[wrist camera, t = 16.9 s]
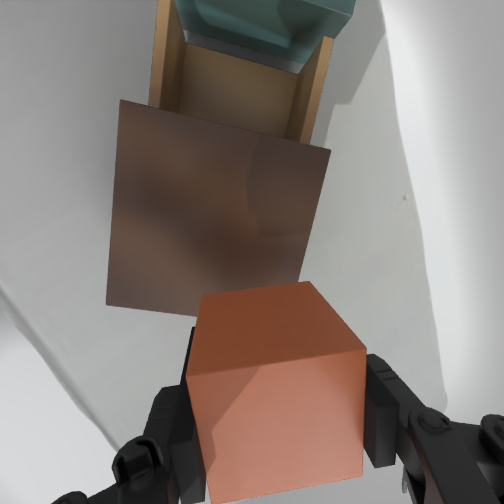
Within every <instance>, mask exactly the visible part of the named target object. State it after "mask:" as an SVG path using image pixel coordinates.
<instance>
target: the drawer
mask: <svg viewBox="0 0 504 504" xmlns="http://www.w3.org/2000/svg"><path fill="white" fill-rule="evenodd" d="M355 2H356V0H158V5H157V15H156V26H155V37H154V47H153V58H152V69H151V79H150V90H149V101H148V106H150V107H155V108H159V109H163V110H167V111H171V112H176V113H180V114H184V115H188V116H192V117H196V118H201V119H205V120H209V121H213V122H217V123H221V124H226V125H230V126H234V127H238V128H242V129H246V130H251V131H255V132H259V133H263V134H267V135H271V136H276V137H280V138H284V139H288V140H292V141H296V142H301V143H305V144H310V139H311V135H312V131H313V127H314V122H315V118H316V114H317V110H318V105H319V101H320V97H321V93H322V88H323V84H324V80H325V76H326V71H327V67H328V63H329V59H330V54H331V50H332V46H333V42H334V39H335V38H336V37H337V35H338V34H339V33H340V31H341V30H342V29H343V27H344V26H345V25H346V23H347V22H348V21H349V19H350V18H351V17H352V14H353V10H354V6H355ZM182 29H184V30H188V31H191V32H195V33H198V34H201V35H205V36H208V37H212V38H215V39H219V40H222V41H226V42H229V43H233V44H236V45H240V46H243V47H247V48H250V49H254V50H257V51H261V52H264V53H267V54H271V55H274V56H278V57H281V58H285V59H288V60H292V61H295V62H299V63H302V64H305V65H304V66H303V68H302V69H301V71H300V72H299V74H295V73H292V72H288V71H285V70H281V69H277V68H274V67H270V66H267V65H263V64H260V63H256V62H253V61H249V60H245V59H242V58H238V57H235V56H231V55H228V54H224V53H220V52H217V51H213V50H210V49H206V48H203V47H199V46H196V45H192V44H188V43H186V41H185V37H184V33H183V30H182Z"/></svg>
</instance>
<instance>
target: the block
mask: <svg viewBox="0 0 504 504" xmlns="http://www.w3.org/2000/svg"><path fill="white" fill-rule="evenodd" d="M366 356H367V348H366V346H365V345H364V344H363V343H362V342H361V341H360V339H359V338H358V337H357V336H356V335H355V334H354V332H353V331H352V330H351V329H350V328H349V327H348V325H347V324H346V323H345V322H344V321H343V320H342V318H341V317H340V316H339V315H338V314H337V313H336V311H335V310H334V309H333V308H332V307H331V306H330V304H329V303H328V302H327V301H326V300H325V299H324V297H323V296H322V295H321V294H320V293H319V292H318V290H317V289H316V288H315V287H314V286H313V285H312V283H311V282H310V281H305V282H298V283H290V284H282V285H275V286H267V287H260V288H252V289H245V290H237V291H229V292H222V293H214V294H207V295H202V296H201V300H200V306H199V311H198V316H197V321H196V326H195V331H194V336H193V341H192V346H191V352H190V357H189V362H188V367H187V372H186V380H187V385H188V390H189V395H190V400H191V405H192V410H193V415H194V418H195V422H196V427H197V432H198V437H199V442H200V447H201V452H202V457H203V462H204V467H205V472H206V479H207V484H208V489H209V494H210V499H211V504H222V503H227V502H232V501H237V500H242V499H248V498H253V497H258V496H263V495H268V494H273V493H278V492H283V491H289V490H294V489H299V488H304V487H309V486H315V485H319V484H325V483H330V482H335V481H340V480H345V479H350V478H356V477H361V476H362V475H363V440H364V411H365V386H366Z"/></svg>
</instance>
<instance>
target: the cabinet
mask: <svg viewBox="0 0 504 504" xmlns="http://www.w3.org/2000/svg"><path fill="white" fill-rule="evenodd" d="M330 154H331V150H330V149H326V148H322V147H317V146H313V145H309V144H305V143H301V142H296V141H292V140H288V139H284V138H280V137H276V136H271V135H267V134H263V133H259V132H255V131H251V130H246V129H242V128H238V127H234V126H230V125H226V124H221V123H217V122H213V121H209V120H205V119H201V118H196V117H192V116H188V115H184V114H180V113H176V112H171V111H167V110H163V109H159V108H155V107H150V106H146V105H142V104H138V103H134V102H130V101H125V100H120V107H119V122H118V136H117V150H116V164H115V179H114V193H113V207H112V222H111V236H110V250H109V265H108V279H107V293H106V305H108V306H116V307H124V308H132V309H140V310H148V311H156V312H164V313H172V314H179V315H187V316H195V317H197V316H198V311H199V306H200V300H201V296H202V295H207V294H214V293H222V292H229V291H237V290H245V289H252V288H260V287H267V286H275V285H282V284H290V283H298V279H299V275H300V271H301V267H302V263H303V259H304V256H305V252H306V248H307V244H308V240H309V236H310V232H311V228H312V224H313V220H314V216H315V212H316V209H317V205H318V201H319V197H320V193H321V189H322V185H323V181H324V177H325V173H326V169H327V165H328V162H329V158H330Z"/></svg>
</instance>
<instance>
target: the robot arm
mask: <svg viewBox="0 0 504 504" xmlns="http://www.w3.org/2000/svg"><path fill="white" fill-rule="evenodd" d="M194 331H195V327H192V330H191V335H190V339H189V344H188V349H187V353H186V358H185V362H184V367H183V372H182V376H181V381H180V385H175V386H169V387H163V388H162V389H161V390H160V391H159V393H158V394H157V395H156V397H155V398H154V401H153V404H152V408H151V411H150V414H149V417H148V421H147V423H146V426H145V430H144V433H143V435H142V436H138V437H136V438H134V439H132V440H130V441H129V442H127V443H126V444H125V445H124V446H123V447H122V448H121V449H120V450H119V451H118V453H117V455H116V456H115V458H114V460H113V464H112V471H113V474H114V477H115V479H116V483H115V484H113V485H112V486H110V487H109V488H107V489H105V490H103V491H101V492H99V493H97V494H95V495H93V496H91V497H89V498H87V496H86V495H85V494H84V493H82V492H81V491H76V492H75V491H74V492H70V493H68V494H65V495H63V496H61V497H60V498H58V499H57V500H56V501H54V502H53V503H52V504H178V503H179V496H180V500H181V504H194V503H199V502H204V501H205V488H206V472H205V467H204V462H203V457H202V452H201V447H200V442H199V437H198V432H197V427H196V422H195V418H194V415H193V410H192V405H191V400H190V395H189V390H188V385H187V380H186V372H187V367H188V362H189V357H190V352H191V346H192V341H193V336H194ZM363 447H364V449H365V451H366V453H367V455H368V457H369V458H370V460H371V462H372V464H373V466H374V468H380V467H385V466H391V465H395V459H396V453H397V454H398V456H399V458H400V459H401V461H402V462H403V464H404V468H403V479H402V490H403V493H406V491H407V487H408V490H409V493H410V496H411V499H412V502H413V504H504V416H501V415H493V414H489V415H486V416H484V417H483V418H482V420H481V424H480V425H473V424H465V423H458V422H453V421H450V420H449V418H448V417H446V416H445V415H444V414H442V413H441V412H439V411H437V410H435V409H432V408H429V407H426V406H425V405H424V404H423V403H422V402H421V401H420V400H419V399H418V397H417V396H416V395H415V394H414V393H413V392H412V391H411V390H410V388H409V387H408V386H407V385H406V384H405V383H404V382H403V381H402V380H401V378H399V376H398V375H397V374H396V373H395V372H394V371H393V370H392V368H391V367H390V366H389V365H388V364H387V363H386V362H385V361H384V360H383V359H381V358H380V357H378V356H376V355H375V354H368V355H367V356H366V386H365V411H364V440H363Z"/></svg>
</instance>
